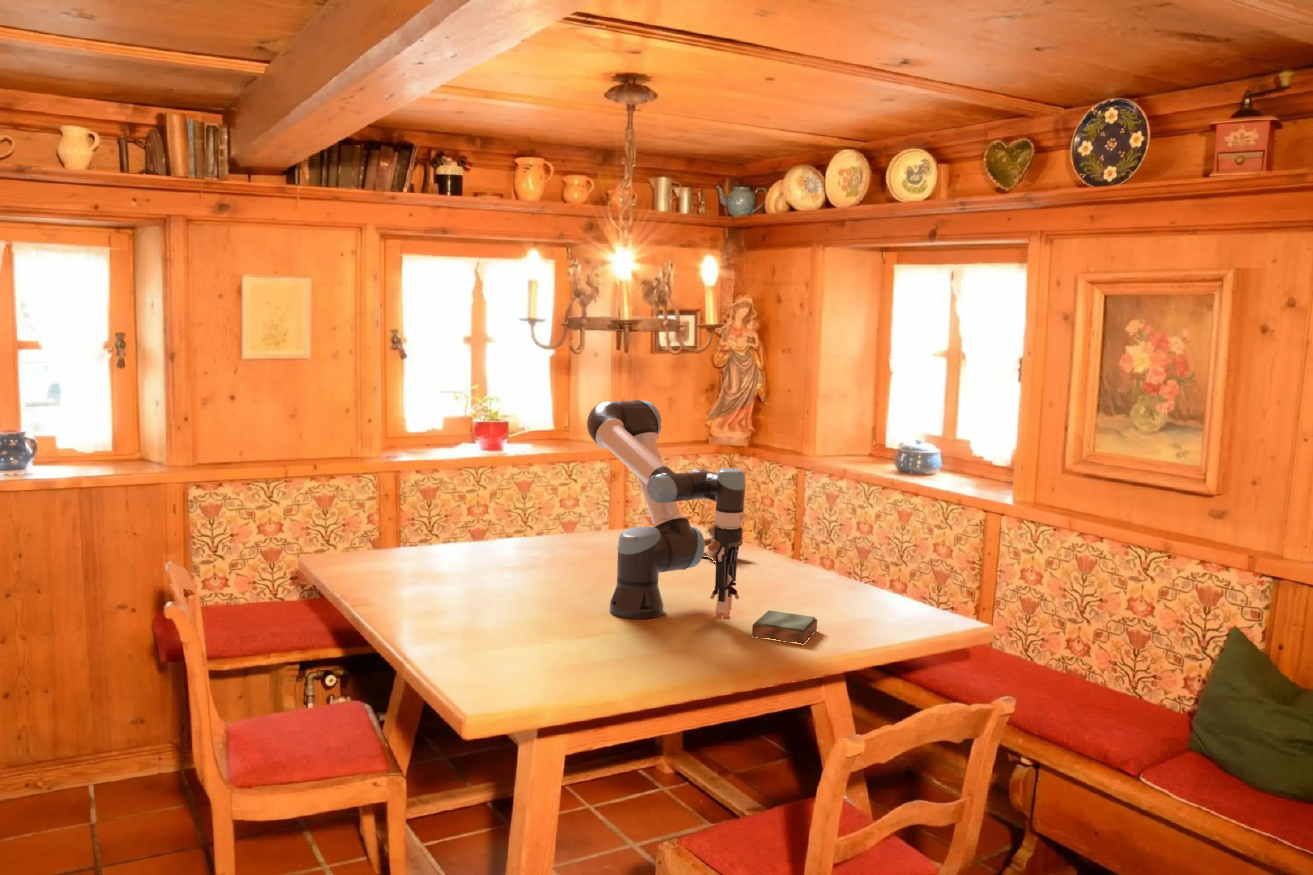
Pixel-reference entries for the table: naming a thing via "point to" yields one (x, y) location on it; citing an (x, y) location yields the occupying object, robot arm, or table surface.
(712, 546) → the stuffed squirrel
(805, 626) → the sage green square panel
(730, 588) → the grandmother figurine
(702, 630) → the table surface
